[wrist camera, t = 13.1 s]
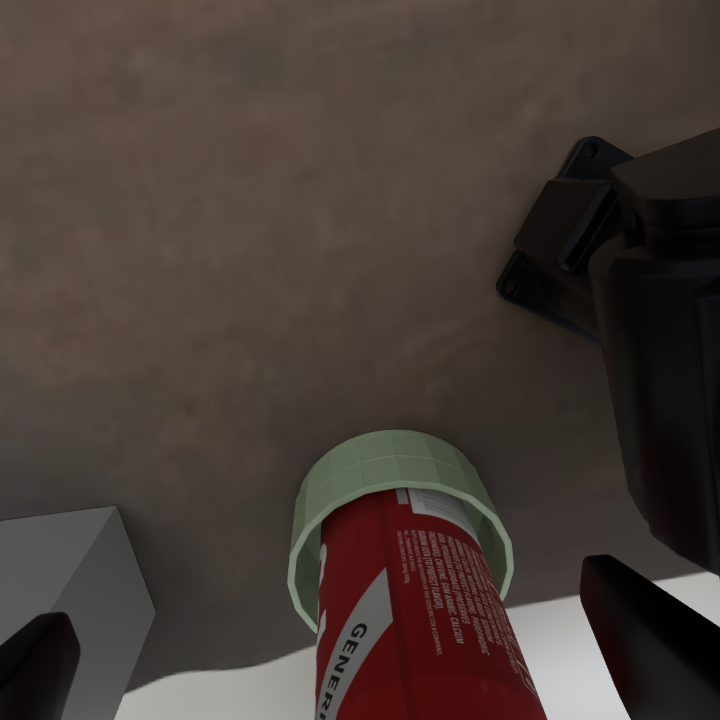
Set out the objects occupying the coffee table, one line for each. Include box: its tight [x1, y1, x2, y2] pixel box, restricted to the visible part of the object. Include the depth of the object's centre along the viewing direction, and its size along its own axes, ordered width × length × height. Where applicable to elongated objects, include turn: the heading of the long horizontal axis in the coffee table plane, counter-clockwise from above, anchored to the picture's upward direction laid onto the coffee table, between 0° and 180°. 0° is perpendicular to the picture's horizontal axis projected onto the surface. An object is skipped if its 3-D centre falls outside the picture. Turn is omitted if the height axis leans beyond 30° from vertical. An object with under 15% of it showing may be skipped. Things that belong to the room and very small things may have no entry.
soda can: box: [314, 487, 547, 720], centre depth 18 cm, size 7×7×12 cm
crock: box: [287, 429, 514, 633], centre depth 22 cm, size 9×9×4 cm
